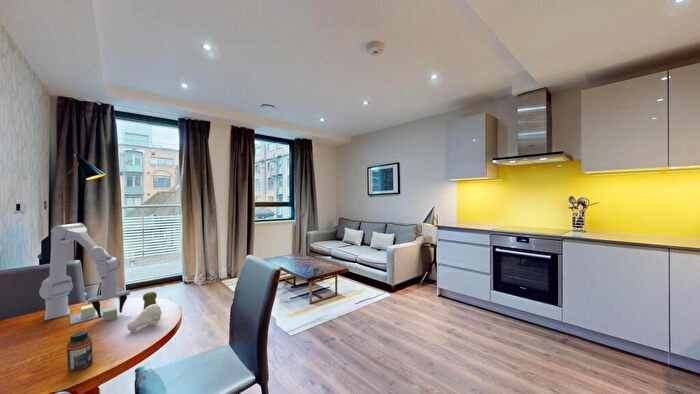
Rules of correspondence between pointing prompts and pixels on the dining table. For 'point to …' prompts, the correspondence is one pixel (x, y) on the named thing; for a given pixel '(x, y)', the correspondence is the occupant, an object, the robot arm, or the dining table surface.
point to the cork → (149, 299)
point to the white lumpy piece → (146, 317)
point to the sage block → (110, 313)
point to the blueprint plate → (77, 318)
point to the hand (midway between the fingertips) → (110, 314)
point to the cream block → (87, 311)
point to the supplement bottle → (79, 351)
